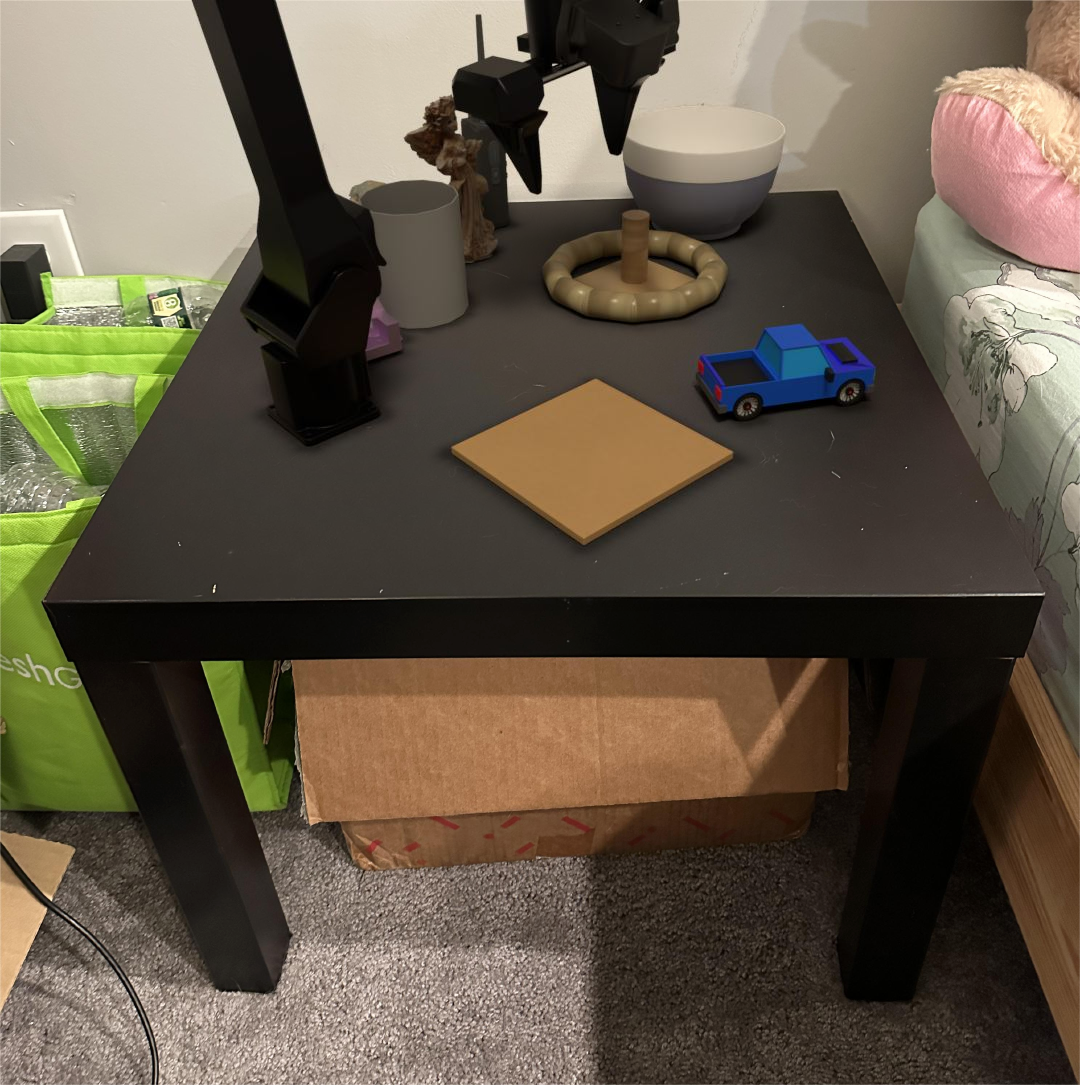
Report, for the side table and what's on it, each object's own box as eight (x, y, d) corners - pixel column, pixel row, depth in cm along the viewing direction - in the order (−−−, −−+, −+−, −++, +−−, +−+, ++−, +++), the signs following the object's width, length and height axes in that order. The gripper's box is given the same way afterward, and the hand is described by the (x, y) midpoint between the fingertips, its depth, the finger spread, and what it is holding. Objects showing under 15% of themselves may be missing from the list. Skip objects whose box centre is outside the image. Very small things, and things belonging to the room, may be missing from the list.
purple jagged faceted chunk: (415, 350, 80) (407, 283, 76) (341, 374, 77) (328, 306, 73) (374, 316, 85) (364, 251, 81) (302, 337, 82) (288, 272, 79)
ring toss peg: (633, 312, 84) (635, 239, 80) (573, 284, 89) (572, 214, 85) (695, 284, 88) (700, 214, 84) (634, 260, 93) (636, 191, 89)
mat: (583, 546, 59) (583, 538, 59) (451, 453, 68) (450, 446, 67) (733, 459, 66) (733, 451, 66) (595, 384, 75) (595, 378, 74)
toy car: (875, 408, 70) (889, 347, 67) (720, 430, 69) (727, 369, 66) (836, 365, 76) (847, 307, 72) (691, 385, 74) (696, 326, 71)
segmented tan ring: (632, 344, 79) (633, 318, 78) (508, 284, 89) (507, 259, 88) (762, 285, 87) (765, 260, 86) (634, 235, 97) (635, 212, 96)
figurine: (461, 273, 92) (445, 108, 82) (417, 259, 95) (397, 98, 85) (510, 248, 96) (501, 88, 86) (467, 235, 99) (453, 79, 89)
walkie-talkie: (512, 226, 101) (501, 13, 88) (484, 232, 99) (468, 18, 87) (493, 212, 104) (479, 5, 91) (465, 218, 103) (447, 9, 90)
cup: (453, 331, 82) (441, 217, 76) (363, 325, 84) (344, 213, 77) (477, 289, 89) (468, 181, 82) (393, 285, 90) (378, 178, 84)
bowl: (738, 266, 91) (748, 163, 85) (592, 237, 97) (592, 139, 91) (796, 211, 101) (809, 116, 95) (660, 188, 108) (665, 98, 102)
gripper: (542, 0, 58) (564, 242, 69) (735, -69, 67) (727, 155, 77) (430, -18, 64) (465, 205, 75) (618, -79, 73) (626, 129, 84)
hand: (576, 173), depth 77 cm, fingers open, 9 cm apart
